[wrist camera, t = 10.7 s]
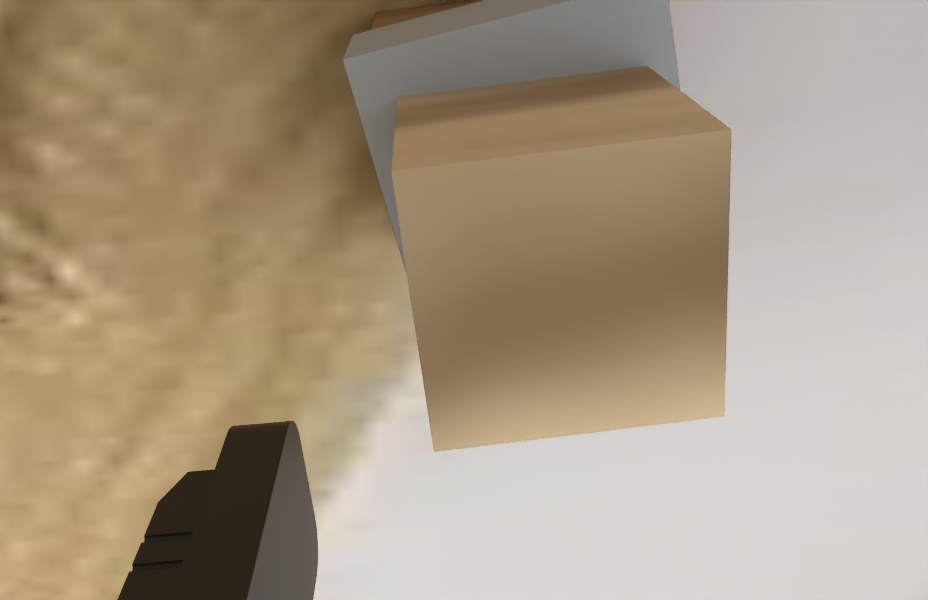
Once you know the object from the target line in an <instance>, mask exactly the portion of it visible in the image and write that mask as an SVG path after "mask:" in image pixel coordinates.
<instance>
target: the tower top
mask: <svg viewBox="0 0 928 600" xmlns="http://www.w3.org/2000/svg"><path fill="white" fill-rule="evenodd" d="M343 63H344V66H345V69H346V73H347V76H348V79H349V83H350V86H351V89H352V93H353V96H354V99H355V103H356V106H357V109H358V113H359V116H360V120H361V123H362V126H363V130H364V133H365V136H366V140H367V143H368V146H369V150H370V153H371V156H372V160H373V163H374V166H375V170H376V173H377V177H378V180H379V183H380V187H381V190H382V193H383V197H384V200H385V203H386V207H387V210H388V213H389V217H390V220H391V223H392V227H393V230H394V234H395V237H396V240H397V244H398V247H399V250H400V254H401V257H402V260H403V264H404V267H405V270H406V265H405V258H404V251H403V245H402V238H401V232H400V225H399V219H398V212H397V206H396V199H395V192H394V186H393V179H392V173H391V169H392V156H393V144H394V132H395V120H396V107H397V97H401V96H409V95H417V94H426V93H434V92H442V91H450V90H458V89H466V88H474V87H483V86H491V85H499V84H507V83H515V82H523V81H532V80H540V79H548V78H556V77H564V76H572V75H580V74H589V73H597V72H605V71H613V70H621V69H629V68H637V67H646V66H648V67H649V68H651V69H652V70H653V71H655V72H656V73H657V74H659V75H660V76H661V77H663V78H664V79H665V80H667V81H668V82H669V83H671V84H672V85H673V86H675V87H676V88H677V89H678V90H680V85H679V77H678V69H677V62H676V54H675V46H674V39H673V31H672V23H671V16H670V8H669V1H668V0H484V1H480V2H476V3H472V4H468V5H464V6H461V7H457V8H453V9H449V10H445V11H441V12H438V13H434V14H430V15H426V16H422V17H419V18H415V19H411V20H407V21H403V22H399V23H396V24H392V25H388V26H384V27H380V28H376V29H373V30H369V31H365V32H361V33H357V34H353V36H352V38H351V41H350V43H349V46H348V48H347V50H346V53H345V55H344V58H343ZM406 274H407V271H406Z"/></svg>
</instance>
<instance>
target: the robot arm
mask: <svg viewBox="0 0 928 600" xmlns="http://www.w3.org/2000/svg"><path fill="white" fill-rule="evenodd" d="M144 537H145V541H144V543H141V545H140V547H139V550H138V552H137V554H136V557H135V559H134V562H133V564H132V565H133V570H132V572H129V574H128V576H127V578H126V581H125V583H124V586H123V588H122V590H121V593H120V595H119V598H118V600H313V596H314V590H315V583H316V576H317V566H318V541H317V528H316V521H315V515H314V510H313V505H312V499H311V494H310V489H309V483H308V478H307V473H306V468H305V462H304V457H303V452H302V446H301V441H300V436H299V432H298V429H297V426H296V424H295V422H294V421H286V422H274V423H263V424H251V425H239V426H232V427H231V428H230V429H229V431H228V433H227V436H226V439H225V442H224V444H223V447H222V450H221V453H220V456H219V459H218V462H217V465H216V468H215V470H205V471H193V472H187V473H186V475H185V476H184V477H183V478H182V479H181V480H180V481H179V482H178V483H177V484H176V485H175V486H174V487H173V488H172V489H171V490H170V491H169V492H168V493H167V494H166V495H165V496H164V497H163V498H162V499H161V500H160V501H159V502H158V504H157V507H156V509H155V511H154V514H153V516H152V519H151V521H150V523H149V526H148V528H147V531H146V533H145V535H144Z"/></svg>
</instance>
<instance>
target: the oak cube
mask: <svg viewBox="0 0 928 600" xmlns="http://www.w3.org/2000/svg"><path fill="white" fill-rule="evenodd" d="M730 162H731V129H730V128H729V127H727V126H726V125H725V124H723V123H722V122H721V121H719V120H718V119H717V118H715V117H714V116H713V115H711V114H710V113H709V112H707V111H706V110H705V109H704V108H702V107H701V106H700V105H698V104H697V103H696V102H694V101H693V100H692V99H690V98H689V97H688V96H686V95H685V94H684V93H682V92H681V91H680V90H678V89H677V88H676V87H675V86H673V85H672V84H671V83H669V82H668V81H667V80H665V79H664V78H663V77H661V76H660V75H659V74H657V73H656V72H655V71H653V70H652V69H651V68H649V67H648V66H646V67H637V68H629V69H621V70H613V71H605V72H597V73H589V74H580V75H572V76H564V77H556V78H548V79H540V80H532V81H523V82H515V83H507V84H499V85H491V86H483V87H474V88H466V89H458V90H450V91H442V92H434V93H426V94H417V95H409V96H401V97H397V107H396V120H395V132H394V144H393V156H392V169H391V173H392V179H393V186H394V192H395V199H396V206H397V212H398V219H399V225H400V232H401V238H402V245H403V251H404V258H405V265H406V271H407V278H408V284H409V291H410V297H411V304H412V310H413V317H414V324H415V330H416V337H417V343H418V350H419V356H420V363H421V369H422V376H423V383H424V389H425V396H426V402H427V409H428V415H429V422H430V428H431V435H432V442H433V448H434V452H437V451H445V450H453V449H461V448H469V447H477V446H486V445H494V444H502V443H510V442H518V441H526V440H535V439H543V438H551V437H559V436H567V435H576V434H584V433H592V432H600V431H608V430H616V429H625V428H633V427H641V426H649V425H657V424H665V423H674V422H682V421H690V420H698V419H706V418H714V417H723V416H724V410H725V369H726V327H727V286H728V245H729V203H730Z"/></svg>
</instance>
